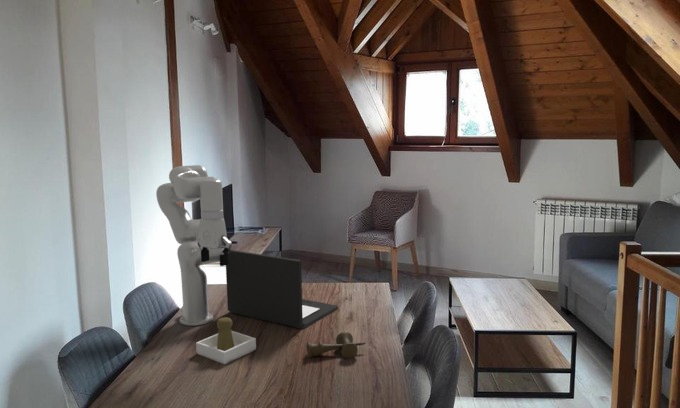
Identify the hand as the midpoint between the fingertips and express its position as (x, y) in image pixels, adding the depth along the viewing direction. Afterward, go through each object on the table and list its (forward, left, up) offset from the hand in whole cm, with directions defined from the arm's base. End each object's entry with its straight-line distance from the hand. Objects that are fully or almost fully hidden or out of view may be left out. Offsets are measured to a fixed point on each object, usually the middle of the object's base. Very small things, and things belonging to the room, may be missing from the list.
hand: (214, 263), depth 186 cm
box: (+10, -5, -28) cm, 30 cm away
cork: (+10, -5, -28) cm, 30 cm away
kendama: (+42, +15, -29) cm, 53 cm away
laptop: (-1, +36, -29) cm, 46 cm away
